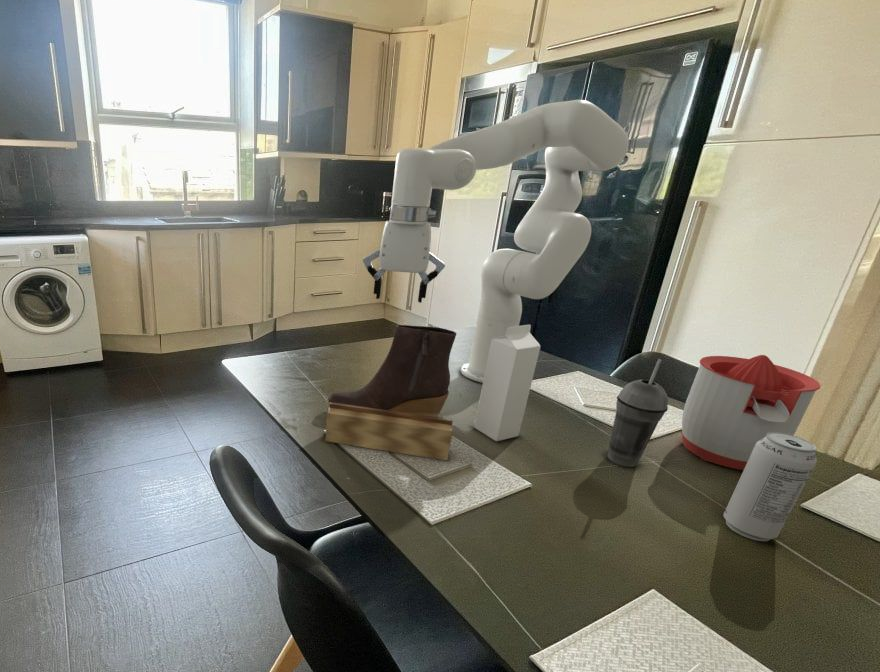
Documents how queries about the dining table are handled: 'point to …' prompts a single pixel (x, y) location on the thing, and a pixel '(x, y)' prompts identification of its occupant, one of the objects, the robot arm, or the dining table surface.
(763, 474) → the energy drink can
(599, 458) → the dining table surface
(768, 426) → the citrus juicer
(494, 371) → the milk
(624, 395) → the beverage cup
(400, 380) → the boot
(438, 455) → the wooden block
